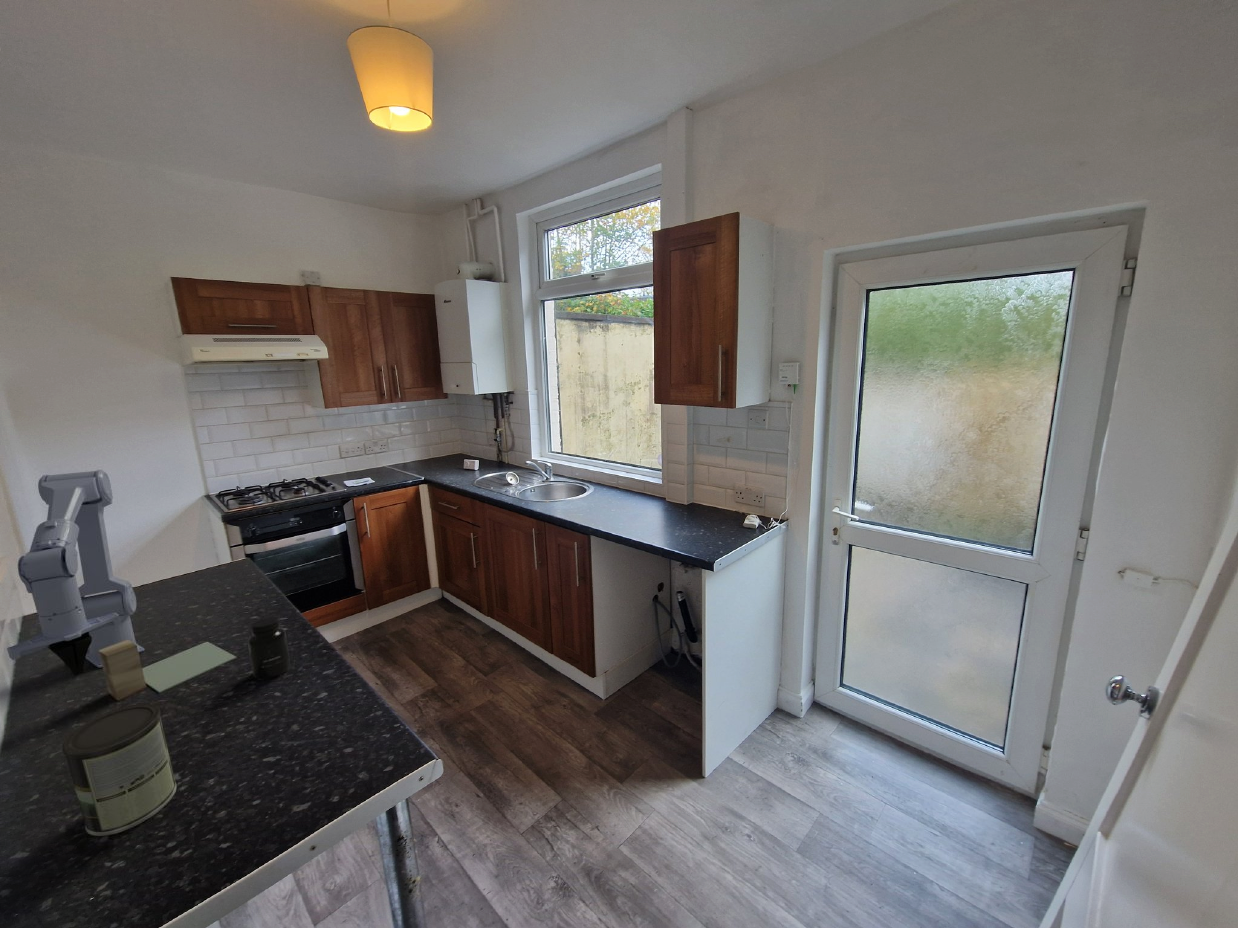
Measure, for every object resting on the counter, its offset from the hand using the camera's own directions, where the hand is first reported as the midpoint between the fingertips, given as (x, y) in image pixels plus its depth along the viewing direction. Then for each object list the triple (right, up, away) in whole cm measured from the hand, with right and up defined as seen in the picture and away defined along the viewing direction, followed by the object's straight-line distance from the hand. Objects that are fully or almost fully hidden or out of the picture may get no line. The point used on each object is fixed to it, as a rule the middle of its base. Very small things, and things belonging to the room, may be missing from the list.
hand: (77, 672), depth 97 cm
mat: (+8, -5, +15) cm, 18 cm away
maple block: (+3, -7, +7) cm, 10 cm away
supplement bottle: (+29, -5, +13) cm, 32 cm away
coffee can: (+31, -12, -21) cm, 39 cm away
